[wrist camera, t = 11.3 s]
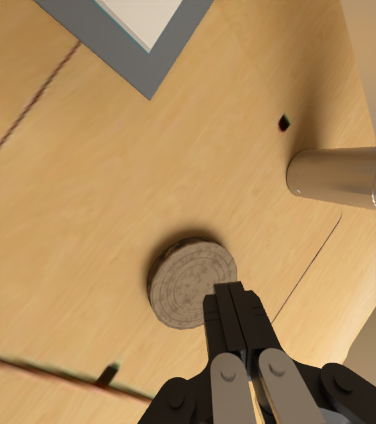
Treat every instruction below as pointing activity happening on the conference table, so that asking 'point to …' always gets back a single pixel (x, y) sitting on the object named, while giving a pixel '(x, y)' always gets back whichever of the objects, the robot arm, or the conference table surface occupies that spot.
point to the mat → (128, 39)
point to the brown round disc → (187, 280)
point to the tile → (141, 18)
